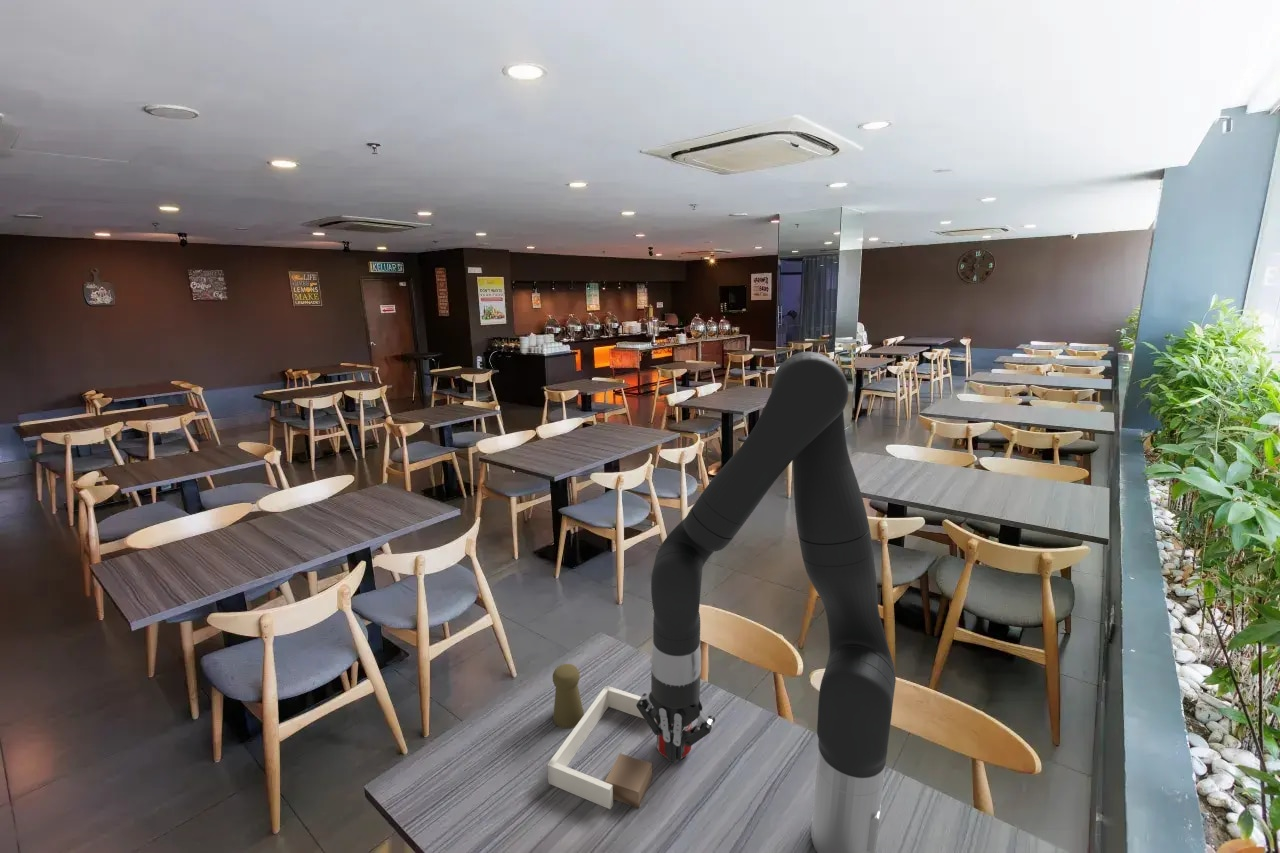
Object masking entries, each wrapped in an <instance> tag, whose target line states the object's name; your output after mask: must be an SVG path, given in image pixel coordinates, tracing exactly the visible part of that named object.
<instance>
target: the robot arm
mask: <svg viewBox="0 0 1280 853" xmlns="http://www.w3.org/2000/svg"><path fill="white" fill-rule="evenodd" d="M848 397H849V384H848V381H847V377H846V376H845V374H844V372H843V370H841V367H840V366H839V365H838V364H837V363H836V362H835V361H834V360H832V358H830V357H828V356H827V355H824V354H822V353H821V352H815V351H814V352H813V351H801V352H797V353H795V354H793V355H791V356H789V357H787V359H785V360H784V361H783V362H782V363H781V365H779V367H778V368H777V370H776V371H775V373H774V376H773V380H772V384H771V392H770V394H769V397H768V399H767V401H766V403H765V405H764V407H763V410H762V412H761V414H760V416H759V417H758V420H757V422H756V423H755V425H754V427H753V428H752V429H751V431H750V433H749V434H748V436H747V437H746V439H745V440H744V441H743V443H742V444H741V446H739V448H738V450H736V452H735V453H734V454H733V455H732V456H731V457H730V458H729V459H728V461H727V462H726V463H725V464H724V465H723V467H721V468H720V469H719V471H718V472H717V473H715V476H714V477H712V479H710V480H711V481H710V482H709V483H708V484H707V486H706V487H705V488H704V489H703V491H702V493H701V494H700V495H699V496H698V498H697V500H696V501H695V503H694V504H693V505H692V507H691V508H690V509H689V511H688V513H687V515H686V516H685V518H683V519H682V520H681V521H680V522H679V523H678V524H677V525H676V526H675V527H674V528H673V529H672V530H671V532H670V533H668V535H667V536H666V537H665V538H664V540H663V542H662V543H661V545H660V547H659V549H658V550H657V553H656V555H655V560H654V564H653V567H652V573H651V580H650V581H651V582H650V590H651V592H650V593H651V603H652V604H651V605H652V611H653V622H652V624H653V626H652V630H653V633H652V634H653V635H652V639H653V640H652V648H651V652H650V653H651V654H650V655H651V657H650V664H651V667H650V669H651V670H650V671H651V672H650V678H651V679H650V680H651V682H650V683H651V684H650V687H651V688H650V690H651V691H650V692H649V694H648V693H645V692H644V693H643V694H642V695H641V696H640V697H641V698H640V699H639V701H638V703H637V705H636V706H637V708H638V710H639V711H640V713H641V714H642V716H643V717H644V720H645V722H646V724H647V725H648V726H649V728H650V729H651V731H652V733H653V734H654V735H655V736H657V735H662V736H663V739H664V741H665V755H666V756H668V758H667V760H668V761H670V762H672V763H674V764H678V761H681V760H682V759H683V758H682V756H683V754H684V746H685V745H686V746H687V747H690V746H691V747H692V746H693V745H695V744H696V743H697V742H699V741H700V740H702V739H703V738H705V737H706V736H707V735H709V734H710V733H711V731H712V729H713V727H714V725H715V722H716V718H715V717H714V716H713V715H708V716H707V714H706V713H705V712H703V705H702V702H701V698H700V697H701V672H702V670H701V669H702V652H701V614H700V602H701V593H702V592H701V590H702V581H703V580H702V578H703V568H704V565H705V564H706V562H707V561H708V559H710V556H712V554H713V553H714V552H719V551H722V550H723V549H725V548H726V547H727V546H728V545H729V544H730V543H731V542H732V540H733V539H734V537H735V536H736V535H737V534H738V532H739V531H740V530H741V528H742V527H743V525H744V524H745V523H746V522H747V520H748V519H749V517H750V516H751V515H752V513H754V511H755V509H756V508H757V506H758V505H759V504H760V502H761V501H762V500H763V498H764V496H766V494H767V492H768V491H769V490H770V489H771V487H772V485H773V484H775V482H776V481H777V479H778V478H779V476H781V474H783V472H784V471H785V470H786V468H788V466H789V465H790V464H791V463H792V468H793V470H792V471H793V496H794V498H793V499H794V500H793V501H794V511H795V512H794V513H795V521H796V529H797V534H798V540H799V546H800V551H801V556H802V561H803V565H804V569H805V571H806V574H807V576H808V578H809V580H810V582H811V584H812V586H813V587H814V589H815V591H816V592H817V595H818V596H819V598H820V600H821V601H822V604H823V607H824V610H825V613H826V620H827V627H828V638H829V639H828V640H829V654H828V657H827V658H828V660H827V662H826V667H825V669H824V671H823V675H822V679H821V681H820V686H819V692H818V693H819V694H818V702H817V703H818V706H817V722H816V723H817V724H816V734H817V738H818V741H817V742H818V743H817V752H816V753H817V755H816V769H815V779H814V790H813V792H814V793H813V803H812V804H813V806H812V817H811V825H810V826H811V833H810V837H811V843H812V845H813V848H814V850H815V851H816V853H877V846H878V838H879V829H880V821H881V808H882V806H881V805H882V796H883V788H884V781H885V780H884V778H885V774H886V773H885V772H886V763H887V757H888V747H889V746H888V745H889V738H890V731H891V724H892V715H893V706H894V697H895V689H896V684H897V683H896V680H897V679H896V669H895V665H894V661H893V657H892V654H891V651H890V647H889V644H888V641H887V640H888V639H887V637H886V633H885V630H884V626H883V623H882V620H881V619H882V618H881V615H880V609H879V600H878V599H879V598H878V582H877V572H876V564H875V555H874V554H875V552H874V548H873V541H872V534H871V529H870V528H871V527H870V522H869V518H868V515H867V514H868V513H867V511H866V506H865V503H864V499H863V496H862V492H861V489H860V485H859V482H858V478H857V476H856V473H855V470H854V467H853V464H852V462H851V459H850V454H849V451H848V446H847V439H846V438H847V437H846V429H845V417H844V415H845V414H844V410H845V409H846V406H847V402H848V399H849V398H848ZM654 718H655V719H656V721H657V722H658V723H656V722H655V720H654ZM696 720H697V722H696V725H694V726H693V727H692V729H690V731H686V728H687V726H688V725H689V724H690V723H692V724H693V722H694V721H696Z"/></svg>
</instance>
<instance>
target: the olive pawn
mask: <svg viewBox="0 0 1280 853" xmlns="http://www.w3.org/2000/svg"><path fill="white" fill-rule="evenodd" d="M552 682H553V685H554V686H555V693H554V694H555V695H554V704H553V706H554V707H553V717H552V718H553V723H554V724H555V725H556V726H557V727H559V728H561V729H573V728H575V727H576V725H577V724H578V722H579V721H580V720H581V718H582V717H583V716H584V714H585V712H584V707H583V704H582V699H581V698H582V697H581V695H580V690H579V685H578V684H579V682H580V671H579V669H578V668H577V666H575V665H574V664H572V663H563V664H560V665H559V666H557V667H556V668H555V669H554V670H553V673H552Z"/></svg>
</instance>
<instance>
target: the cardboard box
mask: <svg viewBox="0 0 1280 853" xmlns="http://www.w3.org/2000/svg"><path fill="white" fill-rule="evenodd" d="M652 780H653V764H652V763H651V762H649V761H646V760H641V759H639V758H636V757H632V756H629V755H626V754H623V753H622V752H621V753H619V754H618V755H617V757H616V759H615V762H614V764H613V765H612V768H611V770H610V771H609V773H608V775H607V776H606V777H605V780H604V782H606V783H609V784H611V785H613V800H616V801H618V802H620V803H623V804H626V805H629V806H631V807H635V808H637V809H640V807H641V804H642V802H643V800H644V798H645V796H646V793H647V791H648V789H649V787H650V784H651V782H652Z"/></svg>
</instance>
